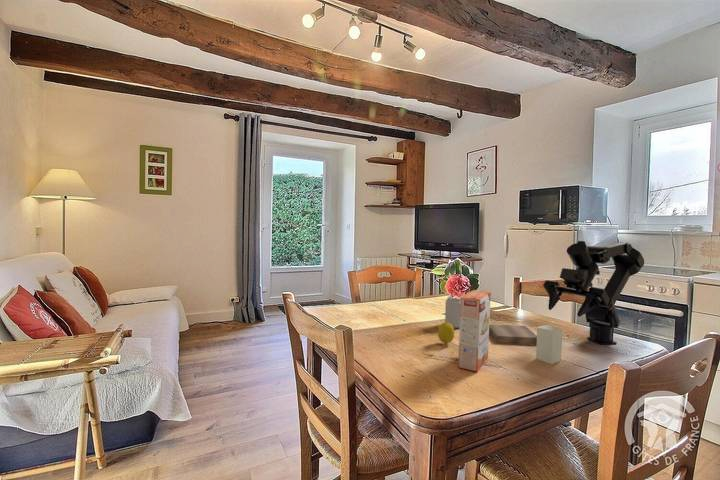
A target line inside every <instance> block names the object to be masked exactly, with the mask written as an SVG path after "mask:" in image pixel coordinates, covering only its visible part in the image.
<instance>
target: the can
mask: <svg viewBox="0 0 720 480" xmlns="http://www.w3.org/2000/svg"><path fill="white" fill-rule="evenodd" d="M451 296H452V295H449V296H447V298H446V300H445V311H444V312H445V313H444V315H445V317H444V318H445V319H444V322H446V321H447V322H448V323H450V324H451V325H452V326H453V328H454V329H460V308H461V298H460V299H457V298H453V297H451Z"/></svg>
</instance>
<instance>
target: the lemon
mask: <svg viewBox="0 0 720 480" xmlns="http://www.w3.org/2000/svg"><path fill="white" fill-rule="evenodd" d="M437 336H438V338H439V340H440V341H441V342H442V343H443V344H444V345H448V344H449V343H451V342H453V340H454V338H455V328H453V326H452V325H451V324H450V323H448V322H447V321H446V322H445V321H444V322H442V323H441V324H439V326H438V330H437Z"/></svg>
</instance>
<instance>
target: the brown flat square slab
mask: <svg viewBox="0 0 720 480" xmlns="http://www.w3.org/2000/svg"><path fill="white" fill-rule="evenodd" d="M489 335H491V337H492V339H494V341H495V342H496V343H497V344H510V345H511V344H512V345H529V346H531V345H533V346H534V345H535V346H537V333H535V332H533V331H532V330H531V329H530V328H528V327H527V326H526V325H515V324H514V325H510V324H491V323H489Z"/></svg>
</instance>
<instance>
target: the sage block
mask: <svg viewBox="0 0 720 480" xmlns="http://www.w3.org/2000/svg"><path fill="white" fill-rule="evenodd" d="M536 335H537V345H536V351H535V352H536V353H535V354H536V355H535V359H536V360H538V361H542V362H544V363H546V364H547V363H548V364H549V365H555V364H557V363H560V362H562V352H563V351H562V350H563V328H560V327H557V326H553V325H549V324H544V325H540V326H537V327H536Z"/></svg>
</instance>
